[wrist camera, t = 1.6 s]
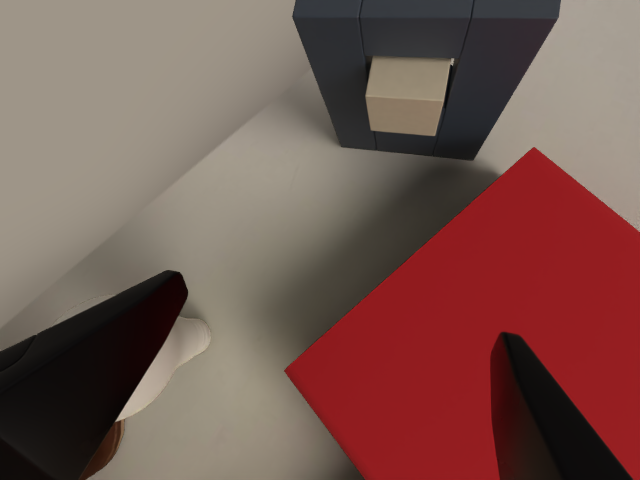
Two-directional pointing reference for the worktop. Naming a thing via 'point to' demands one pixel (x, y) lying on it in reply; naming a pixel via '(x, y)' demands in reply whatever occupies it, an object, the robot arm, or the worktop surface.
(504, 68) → the switch plate
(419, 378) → the red device housing
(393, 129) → the switch rocker
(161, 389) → the lightbulb
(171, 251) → the worktop surface
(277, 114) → the worktop surface
